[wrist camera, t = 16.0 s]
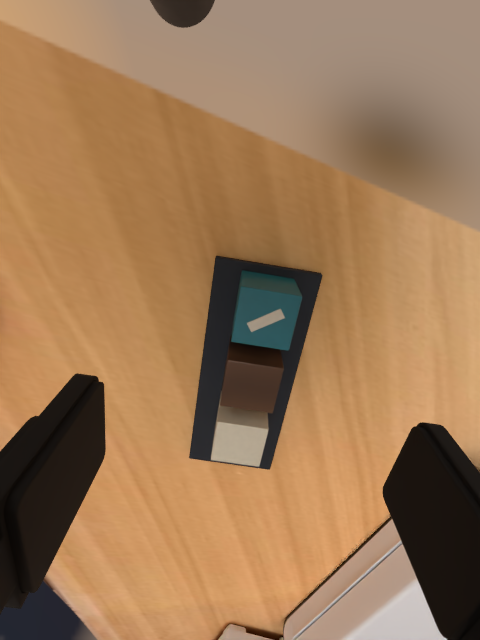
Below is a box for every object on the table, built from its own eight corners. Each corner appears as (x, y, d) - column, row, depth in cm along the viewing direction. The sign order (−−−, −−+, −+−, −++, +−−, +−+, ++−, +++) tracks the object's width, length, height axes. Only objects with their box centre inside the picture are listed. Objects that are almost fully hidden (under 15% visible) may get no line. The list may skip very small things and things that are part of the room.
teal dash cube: (233, 318, 26) (230, 342, 22) (241, 269, 24) (240, 286, 20) (283, 326, 26) (289, 352, 22) (294, 278, 24) (303, 297, 20)
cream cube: (221, 390, 28) (217, 421, 25) (266, 397, 28) (268, 429, 25) (215, 425, 30) (210, 460, 26) (258, 431, 30) (259, 467, 26)
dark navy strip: (216, 255, 24) (215, 257, 24) (321, 272, 24) (322, 275, 24) (190, 453, 32) (189, 458, 32) (269, 464, 32) (269, 469, 32)
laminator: (351, 643, 45) (365, 710, 40) (274, 619, 44) (278, 685, 38) (542, 493, 33) (603, 558, 27) (445, 450, 31) (489, 511, 25)
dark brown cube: (230, 334, 26) (227, 359, 22) (279, 342, 26) (284, 368, 23) (223, 375, 28) (219, 405, 24) (269, 383, 28) (272, 413, 24)
